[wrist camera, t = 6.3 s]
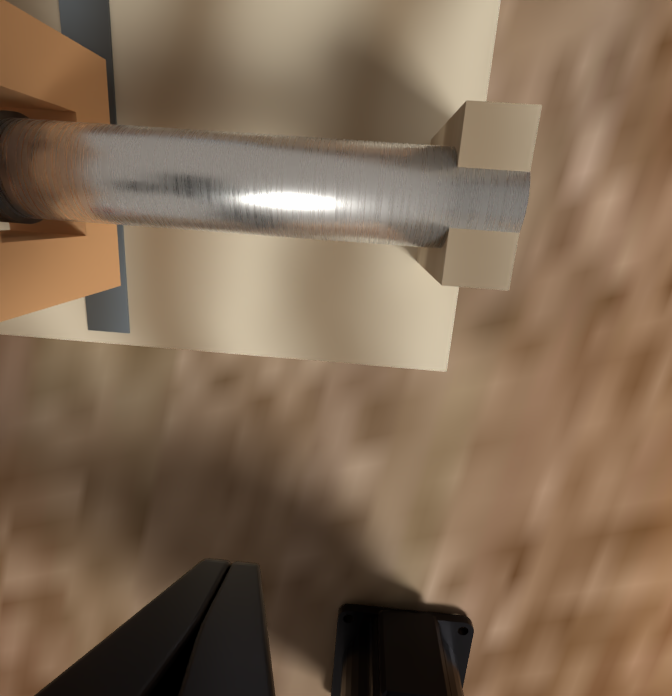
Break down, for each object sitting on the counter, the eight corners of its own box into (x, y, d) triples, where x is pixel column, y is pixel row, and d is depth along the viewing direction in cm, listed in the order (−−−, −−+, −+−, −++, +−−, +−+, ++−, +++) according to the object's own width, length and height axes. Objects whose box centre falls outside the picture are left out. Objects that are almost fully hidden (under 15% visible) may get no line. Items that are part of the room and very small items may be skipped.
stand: (488, 19, 15) (583, -131, 9) (440, 359, 19) (482, 441, 12) (-87, -13, 16) (-408, -172, 9) (-31, 320, 20) (-238, 376, 13)
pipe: (504, 151, 12) (541, 135, 10) (488, 254, 13) (518, 264, 10) (-209, 105, 13) (-351, 78, 10) (-184, 204, 14) (-311, 203, 11)
